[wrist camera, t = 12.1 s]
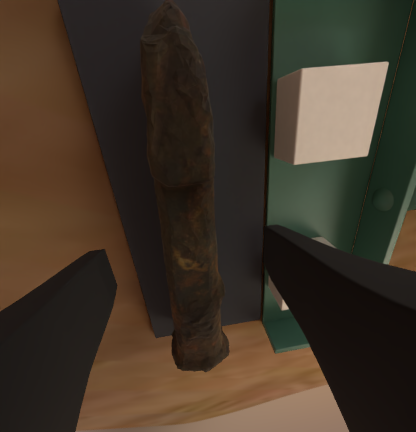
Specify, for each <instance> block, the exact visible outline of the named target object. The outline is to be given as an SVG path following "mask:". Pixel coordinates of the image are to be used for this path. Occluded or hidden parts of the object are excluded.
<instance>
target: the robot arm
mask: <svg viewBox="0 0 416 432" xmlns="http://www.w3.org/2000/svg"><path fill="white" fill-rule="evenodd" d="M263 263H264V265H265V268H266V270H267V272H268V274H269V276H270V279H271V281H272V282H273V284H274V286H275V287H276V289H277V291H278V292H279V294H280V296H281V297H282V299H283V300H284V302H285V304H286V305H287V307H288V308H289V310H290V312H291V313H292V315H293V316H294V318H295V320H296V321H297V323H298V324H299V326H300V328H301V330H302V331H303V333H304V335H305V337H306V339H307V341H308V343H309V345H310V347H311V349H312V351H313V353H314V355H315V357H316V359H317V361H318V363H319V366H320V368H321V370H322V372H323V374H324V376H325V378H326V380H327V382H328V385H329V387H330V389H331V391H332V393H333V395H334V398H335V400H336V402H337V405H338V407H339V409H340V411H341V413H342V416H343V418H344V420H345V422H346V425H347V427H348V429H349V432H416V272H415V271H411V270H407V269H402V268H398V267H394V266H390V265H387V264H383V263H379V262H376V261H373V260H369V259H366V258H363V257H360V256H356V255H353V254H350V253H347V252H345V251H342V250H339V249H337V248H334V247H331V246H329V245H326V244H324V243H321V242H319V241H316V240H314V239H312V238H309V237H307V236H305V235H302V234H300V233H298V232H295V231H293V230H291V229H288V228H286V227H283V226H281V225H277V224H276V225H269V226H264V252H263ZM116 289H117V283H116V280H115V277H114V274H113V272H112V269H111V266H110V263H109V260H108V257H107V254H106V252H105V249H101V250H94V251H89V252H88V253H86V254H84V255H83V256H81V257H80V258H78V259H77V260H75V261H74V262H72V263H71V264H70V265H68V266H67V267H65V268H64V269H63V270H61V271H60V272H58V273H57V274H56V275H54V276H53V277H51V278H50V279H49V280H47V281H46V282H44V283H43V284H41V285H40V286H38V287H37V288H36V289H34V290H33V291H31V292H30V293H28V294H27V295H25V296H24V297H22V298H21V299H19V300H18V301H16V302H15V303H13V304H12V305H10V306H8V307H7V308H5V309H4V310H2V311H0V432H75V431H76V426H77V422H78V418H79V413H80V409H81V405H82V401H83V397H84V393H85V389H86V386H87V382H88V378H89V374H90V371H91V368H92V365H93V362H94V359H95V356H96V353H97V350H98V348H99V345H100V342H101V339H102V336H103V334H104V331H105V328H106V325H107V322H108V320H109V317H110V314H111V311H112V308H113V304H114V300H115V295H116Z"/></svg>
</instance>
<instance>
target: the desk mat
mask: <svg viewBox="0 0 416 432" xmlns="http://www.w3.org/2000/svg"><path fill="white" fill-rule="evenodd" d="M173 1H174V2H175V3H176V4H177V6H178V7H179V8H180V10H181V11H182V13H183V14H184V16H185V17H186V19H187V21H188V22H189V28H190V32H191V35H192V38H193V41H194V43H195V45H196V46H197V48H198V52H199V53H200V54H201V56H202V59H203V62H204V65H205V71H206V79H207V84H208V90H209V99H210V104H211V110H212V115H213V137H214V143H215V155H214V159H215V176H214V210H215V228H216V240H217V254H218V272H219V274H220V276H221V278H222V280H223V283H224V286H225V297H223V299H222V302H221V307H220V315H221V319H220V320H221V326H226V325H232V324H237V323H243V322H248V321H254V320H260V316H261V280H262V245H263V210H264V175H265V140H266V105H267V70H268V35H269V0H173ZM164 2H165V0H58V4H59V7H60V10H61V14H62V17H63V21H64V24H65V28H66V31H67V35H68V38H69V41H70V45H71V48H72V52H73V55H74V59H75V62H76V66H77V69H78V72H79V76H80V79H81V83H82V86H83V90H84V93H85V96H86V100H87V103H88V107H89V110H90V114H91V117H92V121H93V124H94V127H95V131H96V134H97V138H98V141H99V145H100V148H101V152H102V155H103V158H104V162H105V165H106V169H107V172H108V176H109V179H110V182H111V186H112V189H113V193H114V196H115V200H116V203H117V207H118V210H119V213H120V217H121V220H122V224H123V227H124V231H125V234H126V238H127V241H128V244H129V248H130V251H131V255H132V258H133V262H134V265H135V268H136V272H137V275H138V279H139V282H140V286H141V289H142V293H143V296H144V299H145V303H146V306H147V310H148V313H149V317H150V320H151V323H152V327H153V330H154V334H155V337H156V338H159V337H164V336H170V335H172V333H173V330H174V324H173V317H172V311H171V303H170V296H169V289H168V282H167V276H166V268H165V263H164V255H163V243H162V237H161V224H160V219H159V213H158V206H157V200H156V194H155V188H154V177H152V175H151V172H150V166H149V162H148V159H147V116H146V113H145V109H144V105H143V102H142V99H141V85H142V76H141V58H140V41H141V37H142V34H143V31H144V28H145V26H146V25H147V23H148V19H149V15H150V14H151V13H152V12H154V11H155V10H156V9H158V8H159V7H160V6H161V5H162V4H163V3H164Z"/></svg>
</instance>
